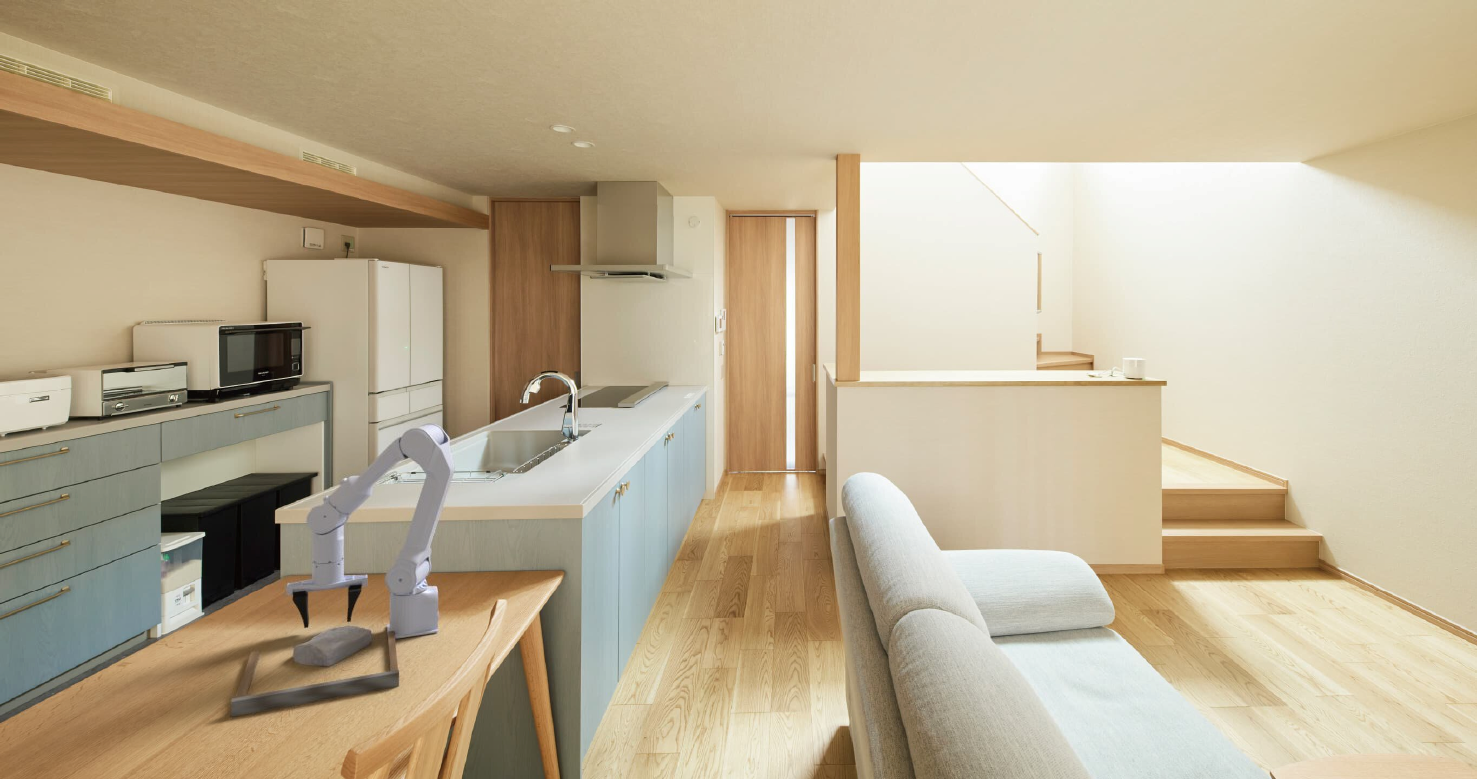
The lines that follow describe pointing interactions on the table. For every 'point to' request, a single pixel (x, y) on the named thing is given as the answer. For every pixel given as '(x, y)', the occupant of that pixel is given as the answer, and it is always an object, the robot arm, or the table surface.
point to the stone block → (332, 646)
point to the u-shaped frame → (311, 687)
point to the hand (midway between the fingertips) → (328, 623)
